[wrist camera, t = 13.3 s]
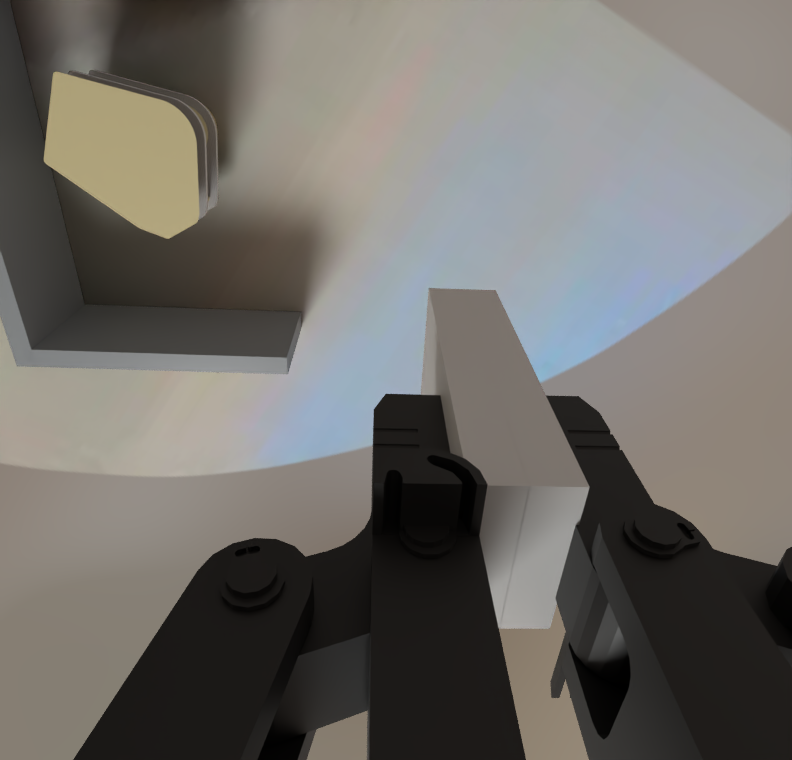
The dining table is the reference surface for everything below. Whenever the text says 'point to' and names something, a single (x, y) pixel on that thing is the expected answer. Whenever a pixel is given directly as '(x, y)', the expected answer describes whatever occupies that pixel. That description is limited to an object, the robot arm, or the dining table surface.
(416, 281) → the dining table surface
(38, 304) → the box
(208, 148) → the stacked layers on plate
